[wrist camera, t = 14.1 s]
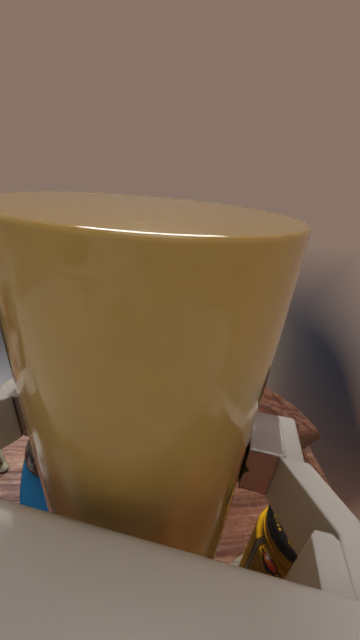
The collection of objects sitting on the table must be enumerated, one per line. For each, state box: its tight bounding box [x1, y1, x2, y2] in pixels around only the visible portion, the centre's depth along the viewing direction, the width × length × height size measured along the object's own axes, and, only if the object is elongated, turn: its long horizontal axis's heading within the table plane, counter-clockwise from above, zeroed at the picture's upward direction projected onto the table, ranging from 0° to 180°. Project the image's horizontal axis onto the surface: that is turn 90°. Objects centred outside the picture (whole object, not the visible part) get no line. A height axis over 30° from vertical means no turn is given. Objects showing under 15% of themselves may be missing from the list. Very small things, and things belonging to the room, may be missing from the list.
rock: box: [258, 387, 320, 449], centre depth 42 cm, size 8×19×5 cm, turn 31°
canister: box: [0, 191, 311, 559], centre depth 9 cm, size 7×7×15 cm
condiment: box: [231, 504, 298, 580], centre depth 22 cm, size 7×8×12 cm
